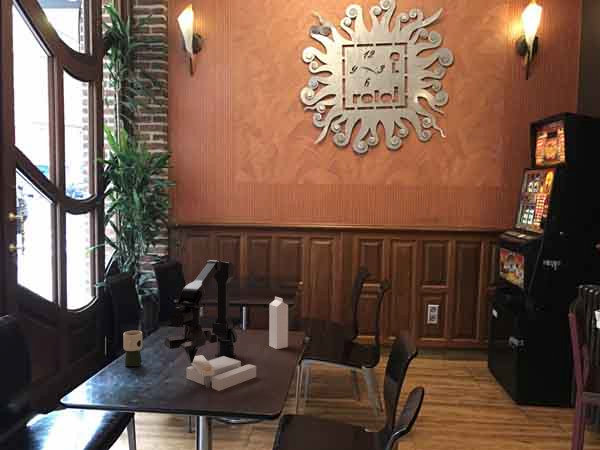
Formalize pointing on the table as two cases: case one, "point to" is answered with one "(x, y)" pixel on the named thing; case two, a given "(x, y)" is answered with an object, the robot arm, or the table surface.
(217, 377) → the white block with cutout
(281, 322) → the milk
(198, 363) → the cover
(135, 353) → the character mug
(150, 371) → the table surface
